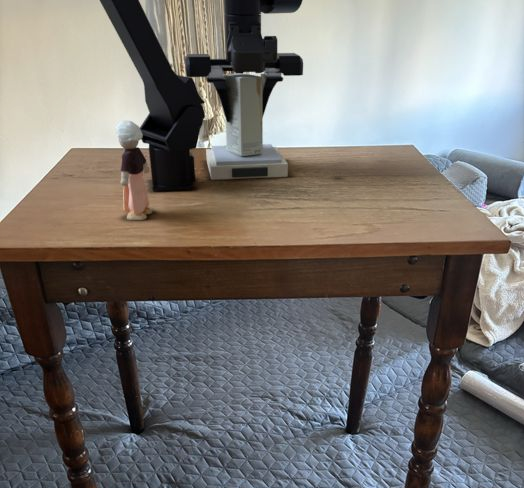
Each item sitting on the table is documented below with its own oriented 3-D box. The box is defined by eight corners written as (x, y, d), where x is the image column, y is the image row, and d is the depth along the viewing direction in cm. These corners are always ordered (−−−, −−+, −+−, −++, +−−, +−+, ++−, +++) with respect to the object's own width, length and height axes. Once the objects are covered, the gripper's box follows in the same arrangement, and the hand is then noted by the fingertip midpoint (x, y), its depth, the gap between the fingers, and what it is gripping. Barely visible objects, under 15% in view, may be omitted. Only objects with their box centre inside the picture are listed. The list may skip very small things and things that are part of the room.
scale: (211, 180, 93) (210, 163, 92) (206, 161, 104) (205, 145, 102) (288, 177, 95) (288, 160, 93) (275, 158, 105) (276, 143, 104)
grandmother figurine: (130, 206, 82) (119, 114, 75) (156, 207, 82) (147, 115, 75) (118, 225, 76) (103, 127, 69) (146, 226, 76) (134, 127, 69)
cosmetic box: (263, 154, 96) (264, 76, 90) (241, 157, 95) (240, 78, 88) (246, 146, 101) (246, 72, 95) (224, 149, 99) (223, 73, 93)
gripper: (183, 17, 79) (191, 133, 87) (313, 17, 81) (308, 130, 90) (181, 13, 88) (188, 119, 96) (297, 13, 90) (294, 116, 99)
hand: (244, 121), depth 95 cm, fingers closed on cosmetic box, 5 cm apart
